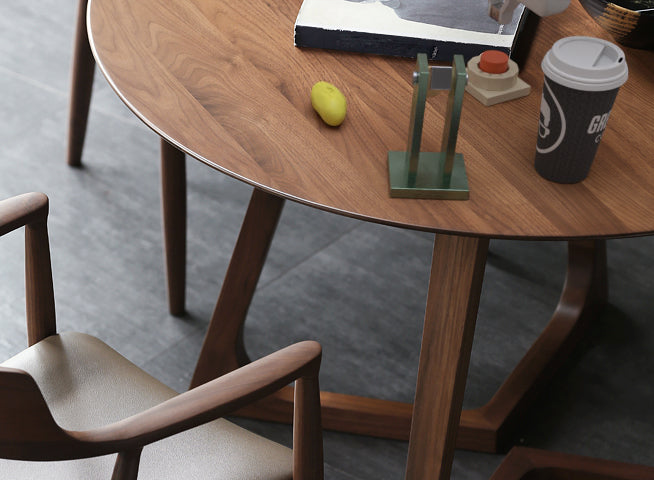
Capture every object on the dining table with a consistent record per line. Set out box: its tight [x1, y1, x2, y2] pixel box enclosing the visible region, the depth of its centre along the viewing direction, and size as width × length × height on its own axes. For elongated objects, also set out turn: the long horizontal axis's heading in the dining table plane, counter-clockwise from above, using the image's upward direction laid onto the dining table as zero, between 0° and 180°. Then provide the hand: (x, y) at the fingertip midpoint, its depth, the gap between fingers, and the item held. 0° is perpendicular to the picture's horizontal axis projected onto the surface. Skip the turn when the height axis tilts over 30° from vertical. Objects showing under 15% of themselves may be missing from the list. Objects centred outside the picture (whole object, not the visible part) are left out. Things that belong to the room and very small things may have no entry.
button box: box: [464, 54, 532, 107], centre depth 142 cm, size 8×7×3 cm
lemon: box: [310, 80, 348, 127], centre depth 135 cm, size 4×8×4 cm, turn 12°
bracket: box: [386, 53, 470, 201], centre depth 121 cm, size 8×9×15 cm
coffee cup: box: [533, 35, 629, 185], centre depth 124 cm, size 10×10×15 cm
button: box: [479, 49, 510, 74], centre depth 141 cm, size 4×4×2 cm
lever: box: [426, 65, 452, 99], centre depth 122 cm, size 12×4×4 cm, turn 179°
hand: (498, 19), depth 137 cm, fingers closed
